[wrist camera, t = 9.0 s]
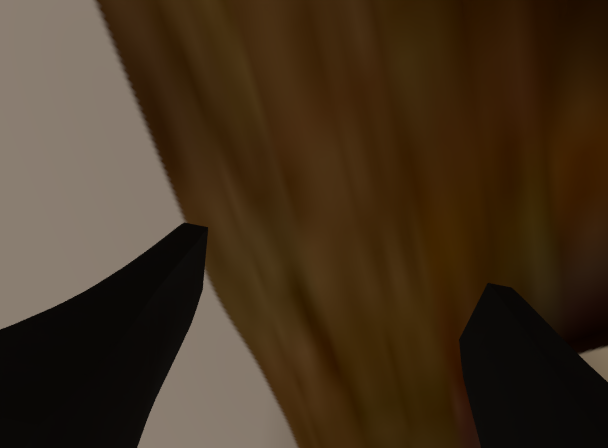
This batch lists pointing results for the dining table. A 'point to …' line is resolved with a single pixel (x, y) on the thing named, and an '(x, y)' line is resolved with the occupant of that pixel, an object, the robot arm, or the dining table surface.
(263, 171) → the dining table surface
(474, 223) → the dining table surface
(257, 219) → the dining table surface
